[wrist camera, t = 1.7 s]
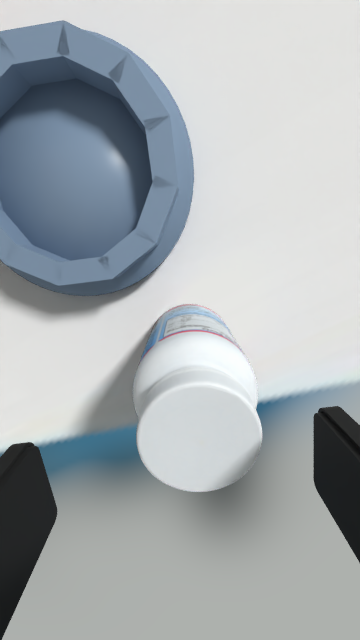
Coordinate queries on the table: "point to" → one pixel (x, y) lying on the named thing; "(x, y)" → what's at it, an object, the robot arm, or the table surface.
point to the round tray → (87, 161)
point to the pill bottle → (196, 402)
